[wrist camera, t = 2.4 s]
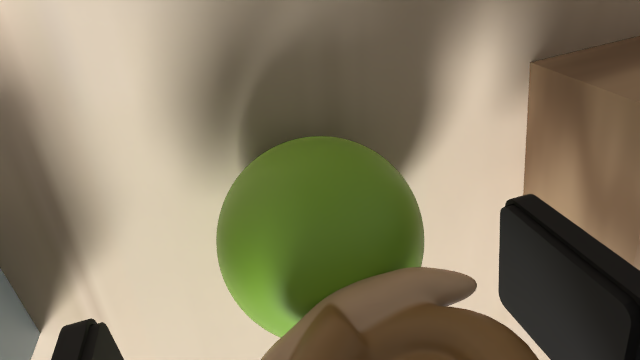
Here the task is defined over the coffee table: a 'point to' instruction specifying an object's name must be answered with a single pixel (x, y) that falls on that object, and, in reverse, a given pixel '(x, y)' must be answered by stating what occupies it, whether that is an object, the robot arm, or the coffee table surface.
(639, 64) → the walnut block
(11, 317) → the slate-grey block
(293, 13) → the coffee table surface
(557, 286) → the robot arm
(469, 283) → the snail figurine
